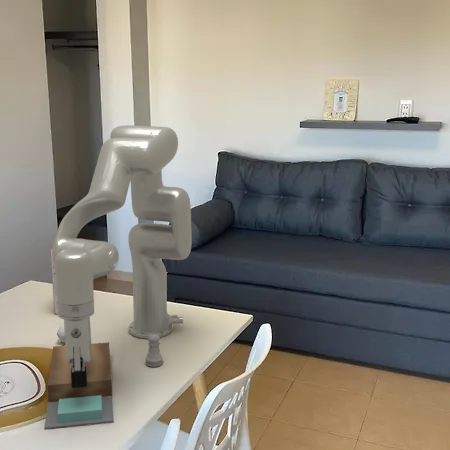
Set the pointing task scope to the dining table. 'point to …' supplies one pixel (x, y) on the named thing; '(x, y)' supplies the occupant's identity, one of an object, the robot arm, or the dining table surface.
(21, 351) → the dining table surface
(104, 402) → the mat
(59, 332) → the white sphere
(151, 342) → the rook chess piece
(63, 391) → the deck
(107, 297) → the dining table surface
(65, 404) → the teal rectangular block
